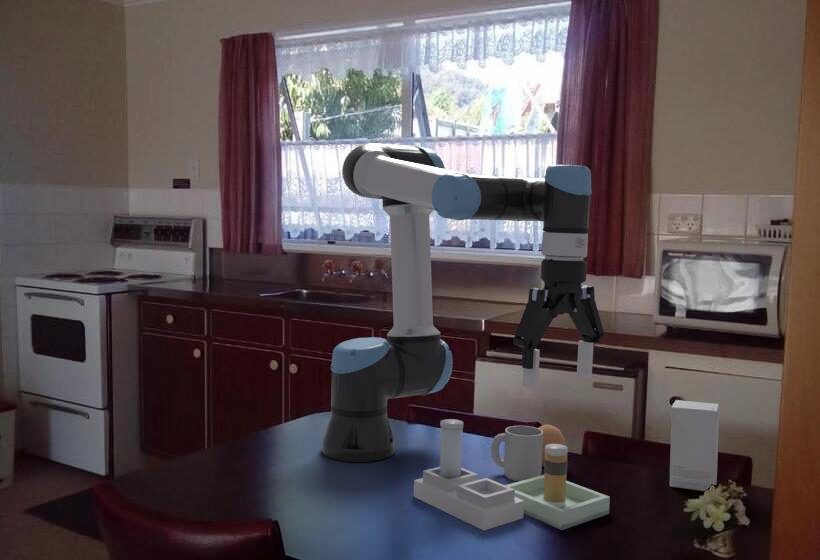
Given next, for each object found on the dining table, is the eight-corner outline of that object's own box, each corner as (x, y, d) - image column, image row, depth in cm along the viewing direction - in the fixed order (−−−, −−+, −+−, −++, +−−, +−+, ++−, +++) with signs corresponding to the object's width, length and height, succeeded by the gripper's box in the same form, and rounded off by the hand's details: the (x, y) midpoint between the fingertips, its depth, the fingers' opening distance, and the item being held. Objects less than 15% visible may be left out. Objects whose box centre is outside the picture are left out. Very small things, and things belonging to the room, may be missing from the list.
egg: (561, 474, 151) (563, 432, 151) (524, 469, 154) (526, 427, 153) (568, 464, 158) (570, 422, 157) (533, 458, 161) (534, 418, 160)
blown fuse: (538, 502, 134) (540, 446, 133) (553, 498, 136) (555, 442, 135) (555, 509, 131) (557, 451, 130) (570, 505, 133) (572, 448, 132)
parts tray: (500, 503, 135) (500, 486, 135) (546, 489, 143) (547, 473, 143) (561, 530, 125) (562, 512, 124) (609, 513, 132) (609, 496, 132)
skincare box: (717, 483, 148) (721, 403, 147) (714, 494, 142) (719, 411, 141) (671, 476, 152) (675, 398, 151) (666, 486, 146) (671, 405, 145)
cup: (537, 484, 146) (539, 438, 145) (485, 477, 149) (487, 431, 148) (544, 472, 152) (546, 428, 152) (494, 466, 156) (495, 422, 155)
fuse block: (413, 496, 138) (415, 420, 136) (452, 486, 143) (454, 413, 142) (483, 530, 124) (486, 445, 122) (523, 518, 129) (526, 436, 128)
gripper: (529, 261, 119) (522, 396, 121) (628, 258, 135) (621, 379, 137) (494, 257, 125) (489, 387, 127) (594, 255, 141) (587, 371, 143)
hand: (557, 383), depth 132 cm, fingers open, 13 cm apart
